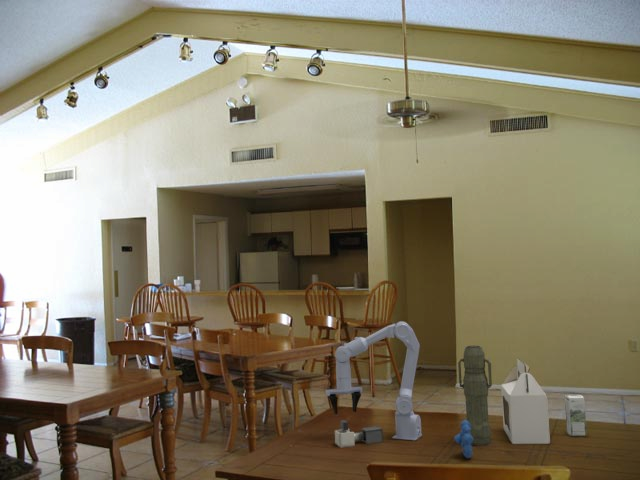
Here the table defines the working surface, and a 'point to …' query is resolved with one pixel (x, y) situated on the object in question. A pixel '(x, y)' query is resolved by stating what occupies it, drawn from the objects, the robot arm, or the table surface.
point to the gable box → (524, 407)
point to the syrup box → (575, 415)
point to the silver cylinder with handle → (345, 427)
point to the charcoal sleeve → (372, 434)
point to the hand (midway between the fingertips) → (345, 412)
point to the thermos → (476, 393)
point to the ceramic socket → (344, 438)
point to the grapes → (465, 439)
